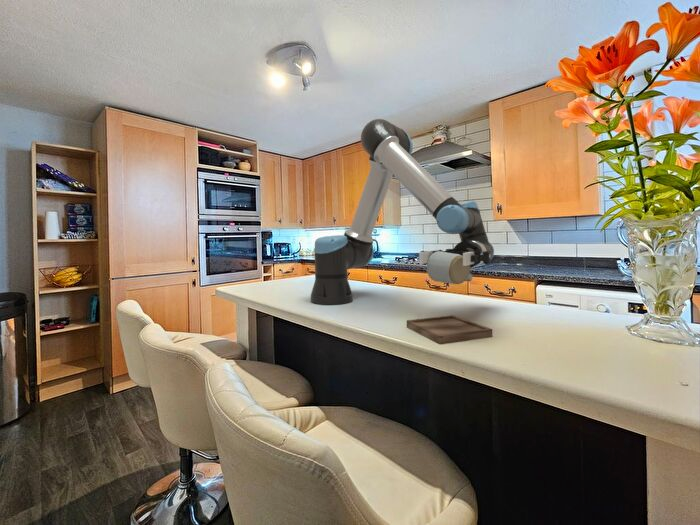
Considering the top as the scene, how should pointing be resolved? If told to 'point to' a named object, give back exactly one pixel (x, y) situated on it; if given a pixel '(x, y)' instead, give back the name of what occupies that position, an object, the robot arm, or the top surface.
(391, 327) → the top surface
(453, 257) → the ceramic mug
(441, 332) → the walnut board
